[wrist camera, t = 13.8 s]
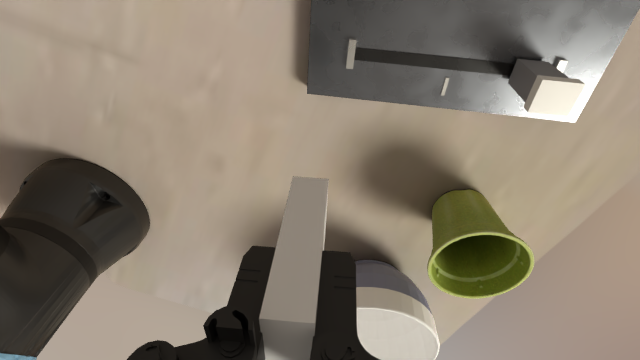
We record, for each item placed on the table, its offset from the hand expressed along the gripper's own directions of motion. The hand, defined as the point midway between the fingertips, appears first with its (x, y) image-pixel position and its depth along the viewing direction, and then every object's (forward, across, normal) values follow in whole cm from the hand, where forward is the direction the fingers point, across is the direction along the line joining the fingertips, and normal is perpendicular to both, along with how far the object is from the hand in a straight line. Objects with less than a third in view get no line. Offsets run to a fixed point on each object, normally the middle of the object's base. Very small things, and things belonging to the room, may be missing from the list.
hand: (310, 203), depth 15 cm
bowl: (+20, +7, -30) cm, 37 cm away
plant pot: (+20, +16, -16) cm, 30 cm away
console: (+20, +10, +5) cm, 23 cm away
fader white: (+18, +16, +1) cm, 24 cm away
